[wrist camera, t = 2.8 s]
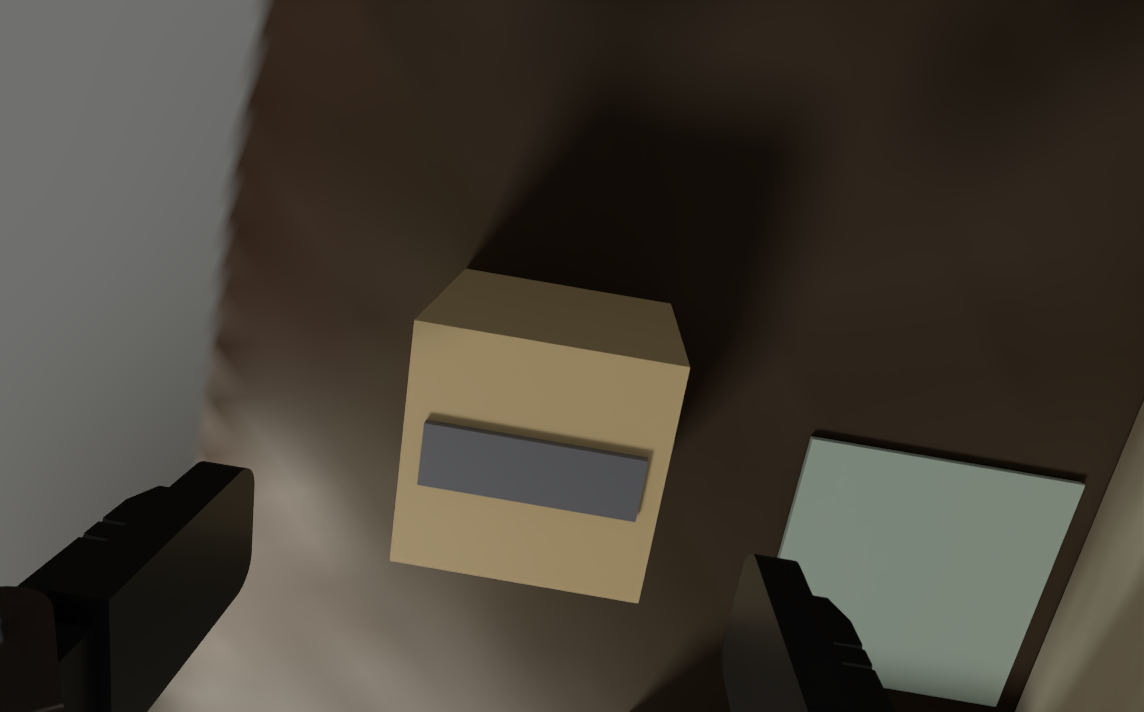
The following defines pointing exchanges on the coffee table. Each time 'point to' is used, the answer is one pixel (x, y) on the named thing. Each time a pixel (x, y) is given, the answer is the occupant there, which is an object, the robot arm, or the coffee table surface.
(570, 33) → the coffee table surface
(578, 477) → the ochre cube
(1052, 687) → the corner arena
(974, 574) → the pad
